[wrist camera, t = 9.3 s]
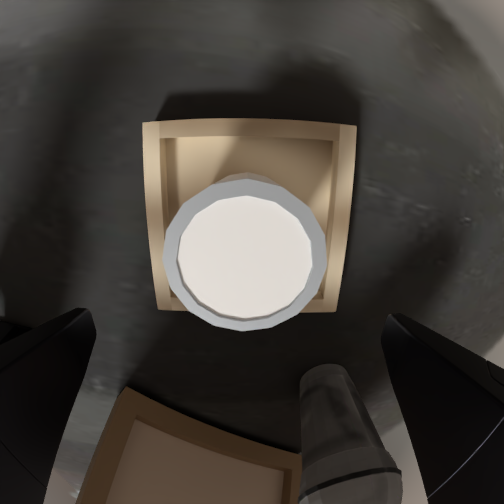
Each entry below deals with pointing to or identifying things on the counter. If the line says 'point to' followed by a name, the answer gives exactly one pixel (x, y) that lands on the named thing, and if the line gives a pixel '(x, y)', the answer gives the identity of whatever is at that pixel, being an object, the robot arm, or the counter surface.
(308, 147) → the birch tray
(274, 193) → the white tapered cup
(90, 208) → the counter surface
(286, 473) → the photo frame
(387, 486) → the beverage cup
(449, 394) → the robot arm
